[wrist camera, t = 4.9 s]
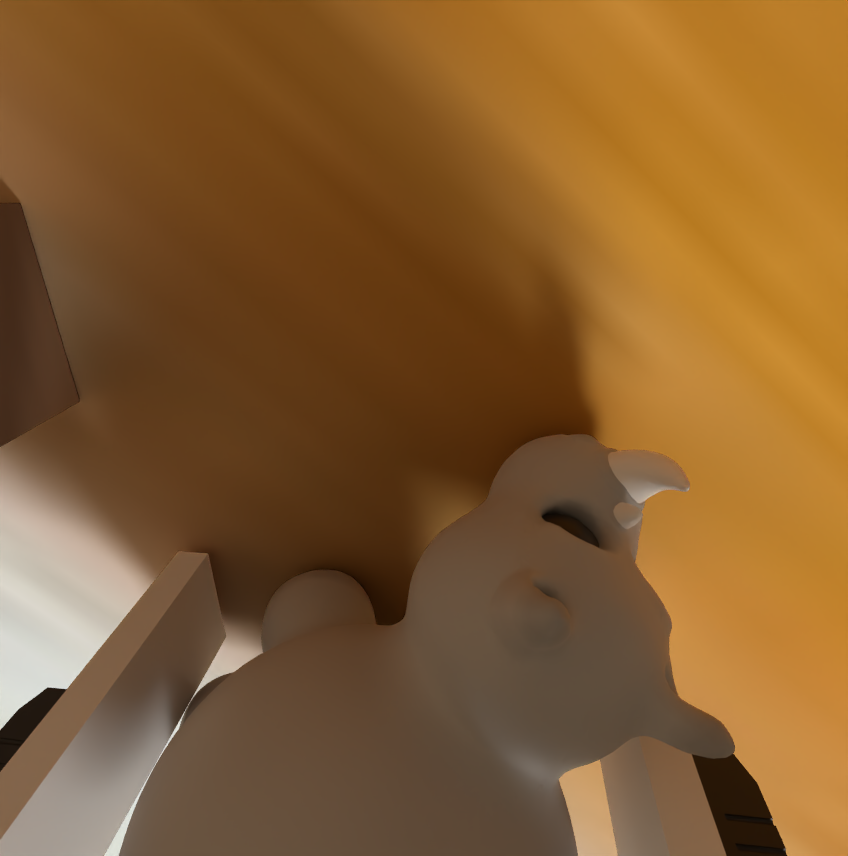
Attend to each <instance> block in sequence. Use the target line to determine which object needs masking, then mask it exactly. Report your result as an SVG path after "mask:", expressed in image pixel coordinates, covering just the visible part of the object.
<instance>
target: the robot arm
mask: <svg viewBox="0 0 848 856" xmlns="http://www.w3.org/2000/svg"><path fill="white" fill-rule="evenodd" d="M225 638H226V633H225V629H224V624H223V620H222V615H221V610H220V606H219V601H218V597H217V592H216V587H215V583H214V578H213V574H212V569H211V564H210V560H209V555H208V553H196V552H181V551H178V552H177V554H176V555H175V556H174V557H173V558H172V560H171V561H170V562H169V563H168V565H167V566H166V567H165V568H164V570H163V571H162V572H161V573H160V575H159V576H158V577H157V578H156V580H155V581H154V582H153V583H152V585H151V586H150V587H149V588H148V589H147V591H146V592H145V593H144V594H143V596H142V597H141V598H140V599H139V601H138V602H137V603H136V604H135V606H134V607H133V608H132V609H131V611H130V612H129V613H128V614H127V615H126V617H125V618H124V619H123V620H122V622H121V623H120V624H119V625H118V627H117V628H116V629H115V630H114V632H113V633H112V634H111V635H110V637H109V638H108V639H107V640H106V642H105V643H104V644H103V645H102V646H101V648H100V649H99V650H98V651H97V653H96V654H95V655H94V656H93V658H92V659H91V660H90V661H89V663H88V664H87V665H86V666H85V668H84V669H83V670H82V671H81V672H80V674H79V675H78V676H77V677H76V679H75V680H74V681H73V682H72V684H71V685H70V686H69V687H68V689H57V688H47V689H45V690H44V691H43V692H41V693H40V694H39V695H37V696H36V697H35V698H33V699H32V700H31V701H29V702H28V703H27V704H25V705H24V706H23V707H21V708H20V709H19V710H18V711H17V712H16V713H15V714H14V715H13V716H12V717H11V719H10V720H9V721H8V722H7V723H6V724H5V726H4V727H3V728H2V729H1V730H0V856H104V855H105V853H106V851H107V849H108V848H109V846H110V844H111V842H112V840H113V839H114V837H115V835H116V833H117V831H118V830H119V828H120V826H121V824H122V822H123V821H124V819H125V817H126V815H127V813H128V812H129V810H130V808H131V806H132V805H133V803H134V801H135V799H136V797H137V796H138V794H139V792H140V790H141V788H142V787H143V785H144V783H145V781H146V779H147V778H148V776H149V774H150V772H151V770H152V769H153V767H154V765H155V763H156V762H157V760H158V758H159V756H160V754H161V753H162V751H163V749H164V747H165V745H166V744H167V742H168V740H169V738H170V736H171V735H172V733H173V731H174V729H175V727H176V726H177V724H178V722H179V720H180V719H181V717H182V715H183V713H184V711H185V710H186V708H187V706H188V704H189V702H190V701H191V699H192V697H193V695H194V693H195V692H196V690H197V688H198V686H199V684H200V683H201V681H202V679H203V677H204V676H205V674H206V672H207V670H208V668H209V667H210V665H211V663H212V661H213V659H214V658H215V656H216V654H217V652H218V650H219V649H220V647H221V645H222V643H223V641H224V640H225ZM600 762H601V767H602V773H603V778H604V783H605V789H606V794H607V799H608V805H609V810H610V815H611V821H612V826H613V831H614V837H615V842H616V847H617V853H618V856H787V855H786V851H785V850H786V848H785V846H784V844H783V841H782V839H781V837H780V835H779V832H778V830H777V828H776V826H774V825H773V821H772V819H773V818H772V816H771V814H770V812H769V809H768V807H767V805H766V802H765V800H764V798H763V795H762V793H761V791H760V789H759V786H758V784H757V782H756V781H755V780H754V779H753V777H752V776H751V775H750V774H749V773H748V771H747V770H746V769H745V768H744V766H743V765H742V764H741V763H740V762H739V760H738V759H737V758H736V757H735V755H734V754H731V755H730V756H728V757H726V758H715V759H712V758H706V757H702V756H698V755H693V754H689V753H686V752H683V751H681V750H679V749H676V748H674V747H672V746H670V745H668V744H666V743H664V742H662V741H659V740H657V739H655V738H651V737H648V736H639V737H635V738H632V739H630V740H629V741H627V742H626V743H624V744H623V745H622V746H620V747H619V748H618V749H616V750H615V751H614V752H612V753H610V754H609V755H607V756H605V757H603V758H601V759H600Z"/></svg>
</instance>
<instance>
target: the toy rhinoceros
mask: <svg viewBox="0 0 848 856" xmlns="http://www.w3.org/2000/svg"><path fill="white" fill-rule="evenodd" d="M689 489H690V484H689V481H688V478H687V477H686V475H685V473H684V471H683V470H682V468H681V467H680V466H679V465H678V464H677V463H676V462H675V461H673V460H672V459H670V458H669V457H667V456H665V455H662V454H659V453H656V452H652V451H646V450H622V451H618V450H616V449H612V448H607V447H605V446H603V445H602V444H601V443H599V442H598V441H597V440H596V439H595V438H594V437H593V436H591V435H586V434H573V435H564V434H557V435H551V436H545V437H541V438H537V439H534V440H532V441H530V442H528V443H526V444H524V445H523V446H521V447H520V448H518V449H517V450H516V451H515V452H514V453H513V454H512V455H510V456H509V457H508V458H507V459H506V460H505V462H504V463H503V465H502V466H501V467H500V469H499V471H498V472H497V474H496V476H495V478H494V480H493V482H492V485H491V488H490V491H489V494H488V497H487V499H486V500H485V501H484V502H483V503H482V504H481V505H479V506H478V507H477V508H475V509H474V510H472V511H471V512H469V513H468V514H466V515H464V516H463V517H461V518H459V519H458V520H456V521H455V522H453V523H452V524H451V525H449V526H448V527H446V528H445V529H444V530H443V531H441V532H440V533H439V534H438V535H437V536H436V537H435V538H434V539H433V540H432V542H431V543H430V544H429V545H428V547H427V548H426V549H425V551H424V552H423V554H422V556H421V557H420V559H419V561H418V563H417V565H416V568H415V570H414V573H413V575H412V578H411V583H410V587H409V594H408V601H407V608H406V613H405V616H404V618H403V619H402V620H401V621H400V622H398V623H396V624H393V625H376V620H375V615H374V610H373V607H372V604H371V602H370V599H369V597H368V595H367V594H366V592H365V590H364V589H363V588H362V586H361V585H360V584H359V583H358V582H357V581H356V580H355V579H353V578H352V577H351V576H349V575H347V574H345V573H343V572H340V571H336V570H313V571H308V572H305V573H302V574H299V575H297V576H295V577H293V578H291V579H289V580H288V581H286V582H285V583H284V584H283V585H281V586H280V587H279V588H278V589H277V591H276V592H275V593H274V595H273V596H272V598H271V599H270V601H269V603H268V606H267V608H266V611H265V614H264V618H263V623H262V634H261V640H262V649H263V653H262V654H260V655H258V656H257V657H255V658H254V659H252V660H251V661H249V662H247V663H246V664H244V665H243V666H242V667H240V668H239V669H238V670H236V671H235V672H233V673H229V674H226V675H223V676H220V677H218V678H216V679H214V680H212V681H211V682H209V683H207V684H206V685H205V686H204V687H202V688H201V689H200V690H199V691H198V692H197V693H196V695H195V696H194V697H193V699H192V700H191V702H190V703H189V705H188V707H187V709H186V711H185V713H184V716H183V718H182V721H181V724H180V728H179V730H178V731H177V732H176V734H175V735H174V737H173V738H172V740H171V741H170V743H169V744H168V746H167V747H166V749H165V750H164V752H163V754H162V755H161V757H160V759H159V760H158V762H157V764H156V765H155V767H154V769H153V771H152V773H151V775H150V777H149V779H148V781H147V783H146V785H145V787H144V789H143V791H142V793H141V795H140V797H139V800H138V802H137V804H136V807H135V809H134V812H133V814H132V817H131V820H130V823H129V825H128V828H127V831H126V834H125V837H124V840H123V844H122V847H121V850H120V854H119V856H578V853H577V847H576V841H575V836H574V832H573V827H572V823H571V819H570V815H569V812H568V808H567V805H566V801H565V798H564V795H563V792H562V789H561V786H560V783H559V778H560V777H561V776H562V775H563V774H564V773H565V772H567V771H569V770H571V769H574V768H577V767H580V766H583V765H587V764H590V763H592V762H595V761H597V760H600V759H601V758H603V757H605V756H607V755H609V754H610V753H612V752H614V751H615V750H616V749H618V748H619V747H620V746H622V745H623V744H624V743H626V742H627V741H629V740H630V739H632V738H635V737H639V736H648V737H651V738H655V739H657V740H659V741H662V742H664V743H666V744H668V745H670V746H672V747H674V748H676V749H679V750H681V751H683V752H686V753H689V754H693V755H698V756H702V757H706V758H712V759H715V758H726V757H728V756H730V755H731V754H733V753H734V751H735V745H734V742H733V739H732V737H731V736H730V734H729V732H728V731H727V729H726V728H725V726H724V725H723V724H722V723H721V722H720V721H719V720H717V719H716V718H714V717H713V716H711V715H709V714H707V713H706V712H704V711H702V710H700V709H698V708H696V707H694V706H692V705H690V704H688V703H687V702H685V701H684V700H682V699H681V698H680V697H679V696H678V693H677V691H676V687H675V683H674V679H673V675H672V667H671V661H670V655H669V636H670V633H671V629H672V622H671V618H670V616H669V614H668V612H667V610H666V609H665V607H664V604H663V603H662V601H661V600H660V598H659V597H658V595H657V594H656V592H655V591H654V589H653V588H652V587H651V585H650V584H649V583H648V582H647V581H646V579H645V578H644V577H643V575H642V573H641V572H640V570H639V569H638V567H637V565H636V563H635V560H636V555H637V549H638V540H639V534H640V529H641V524H642V516H643V514H642V510H643V508H644V504H645V500H646V499H648V498H649V497H651V496H653V495H654V494H656V493H658V492H660V491H663V490H680V491H688V490H689Z"/></svg>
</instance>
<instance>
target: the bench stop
mask: <svg viewBox="0 0 848 856" xmlns="http://www.w3.org/2000/svg"><path fill="white" fill-rule="evenodd" d="M78 402H79V398H78V395H77V391H76V388H75V385H74V381H73V378H72V375H71V371H70V368H69V365H68V361H67V358H66V355H65V351H64V348H63V345H62V341H61V338H60V335H59V331H58V328H57V325H56V321H55V318H54V315H53V311H52V308H51V305H50V301H49V298H48V295H47V291H46V288H45V285H44V281H43V278H42V275H41V271H40V268H39V265H38V261H37V258H36V255H35V251H34V248H33V245H32V241H31V238H30V235H29V231H28V228H27V225H26V221H25V218H24V215H23V211H22V208H21V205H20V203H0V447H1V446H3V445H4V444H6V443H8V442H10V441H11V440H13V439H15V438H17V437H18V436H20V435H22V434H24V433H25V432H27V431H29V430H31V429H32V428H34V427H36V426H38V425H39V424H41V423H43V422H44V421H46V420H48V419H50V418H51V417H53V416H55V415H57V414H58V413H60V412H62V411H64V410H65V409H67V408H69V407H71V406H72V405H74V404H76V403H78Z"/></svg>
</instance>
